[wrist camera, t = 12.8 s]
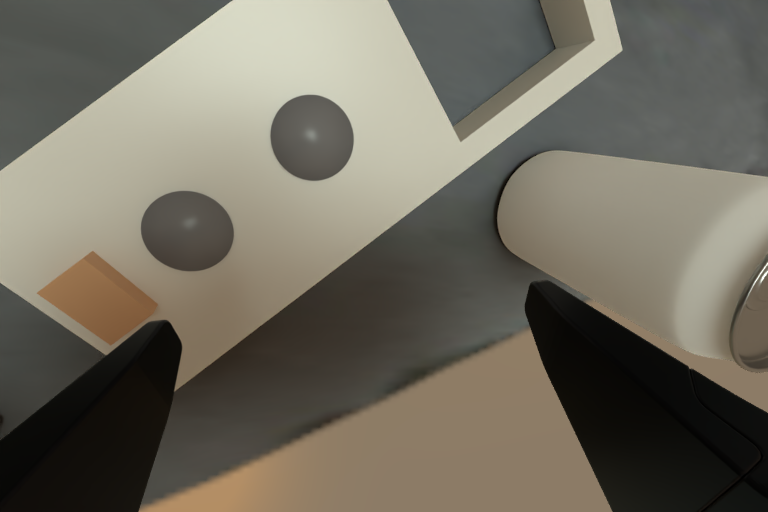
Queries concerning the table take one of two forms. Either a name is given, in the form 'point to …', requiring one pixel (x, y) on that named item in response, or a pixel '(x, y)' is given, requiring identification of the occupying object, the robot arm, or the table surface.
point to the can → (651, 245)
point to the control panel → (252, 167)
